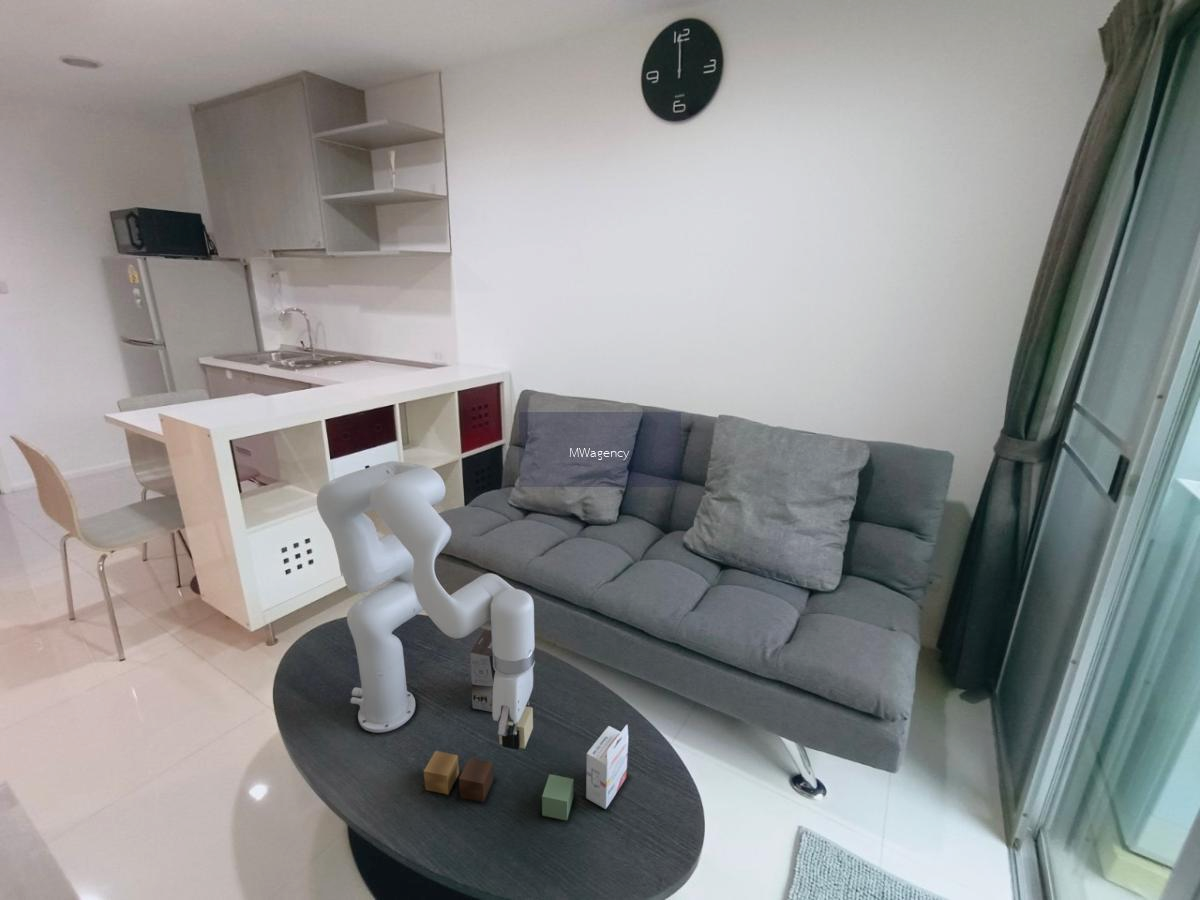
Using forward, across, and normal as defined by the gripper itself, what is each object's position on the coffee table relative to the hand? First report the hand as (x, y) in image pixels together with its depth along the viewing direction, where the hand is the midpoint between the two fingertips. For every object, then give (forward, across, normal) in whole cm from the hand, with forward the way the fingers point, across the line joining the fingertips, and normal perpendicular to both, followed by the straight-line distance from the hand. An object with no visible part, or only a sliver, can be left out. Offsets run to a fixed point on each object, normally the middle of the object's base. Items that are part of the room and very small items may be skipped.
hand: (516, 734), depth 105 cm
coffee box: (+16, -24, -15) cm, 32 cm away
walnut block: (+16, 0, -9) cm, 18 cm away
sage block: (+16, 0, +8) cm, 18 cm away
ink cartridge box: (+16, -6, +17) cm, 24 cm away
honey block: (+16, 0, -16) cm, 23 cm away
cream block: (0, 0, 0) cm, 0 cm away
